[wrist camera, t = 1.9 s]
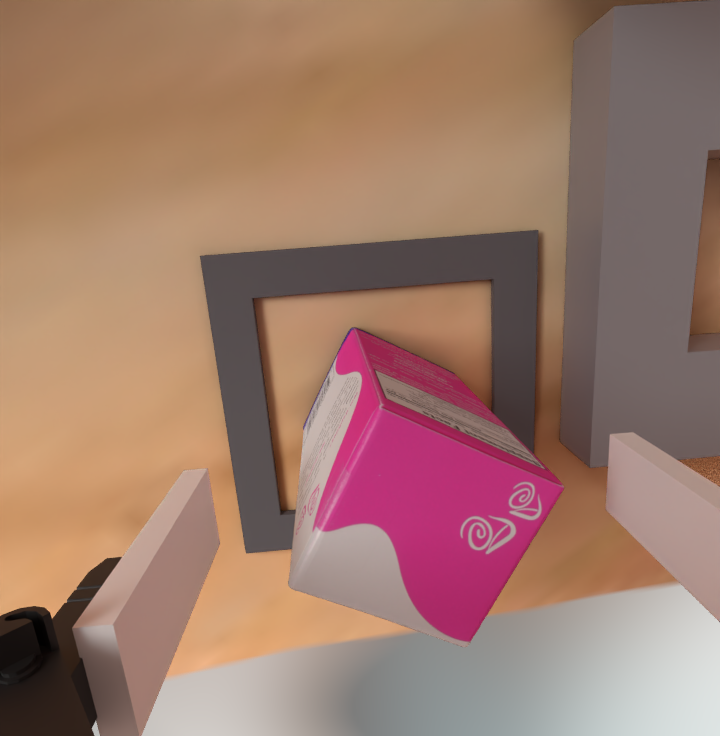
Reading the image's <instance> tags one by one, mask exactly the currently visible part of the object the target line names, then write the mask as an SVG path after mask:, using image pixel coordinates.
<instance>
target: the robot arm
mask: <svg viewBox="0 0 720 736" xmlns="http://www.w3.org/2000/svg"><path fill="white" fill-rule="evenodd" d="M606 510H607V511H608V512H609V513H610V514H611V515H612V516H613V517H614V518H615V519H616V520H617V521H618V522H619V523H620V524H621V525H622V526H623V527H624V528H625V529H626V530H627V531H628V532H629V533H630V534H631V535H632V536H633V537H634V538H635V539H636V540H637V541H638V542H639V543H640V544H641V545H642V546H643V547H644V548H645V549H646V550H647V551H648V552H649V553H650V554H651V555H652V556H653V557H654V558H655V559H656V560H657V561H658V562H659V563H660V564H661V565H662V566H663V567H664V568H665V569H666V570H667V571H668V572H669V573H670V574H671V575H672V576H673V577H674V578H675V579H677V580H678V581H679V582H680V583H681V584H682V585H683V586H684V587H685V588H686V589H687V590H688V591H689V592H690V593H691V594H692V595H693V596H694V597H695V598H696V599H697V600H698V601H699V602H700V603H701V604H702V605H703V606H704V607H705V608H706V609H707V610H708V611H709V612H710V613H711V614H712V615H713V616H714V617H715V618H716V619H717V620H718V621H719V622H720V487H719V486H718V485H716V484H715V483H713V482H711V481H710V480H708V479H707V478H705V477H703V476H702V475H700V474H699V473H697V472H695V471H694V470H692V469H691V468H689V467H687V466H686V465H684V464H683V463H681V462H680V461H678V460H676V459H675V458H673V457H672V456H670V455H668V454H667V453H665V452H664V451H662V450H660V449H659V448H657V447H656V446H654V445H653V444H651V443H649V442H648V441H646V440H645V439H643V438H641V437H640V436H638V435H637V434H635V433H633V432H629V433H617V434H610V441H609V459H608V477H607V494H606ZM219 545H220V540H219V534H218V528H217V522H216V516H215V510H214V504H213V498H212V492H211V486H210V480H209V474H208V468H205V469H193V470H184V471H183V472H182V473H181V475H180V476H179V478H178V479H177V481H176V482H175V483H174V485H173V486H172V488H171V489H170V490H169V492H168V493H167V495H166V496H165V497H164V499H163V500H162V502H161V503H160V505H159V506H158V507H157V509H156V510H155V512H154V513H153V514H152V516H151V517H150V519H149V520H148V521H147V523H146V524H145V526H144V527H143V529H142V530H141V531H140V533H139V534H138V536H137V537H136V538H135V540H134V541H133V543H132V544H131V545H130V547H129V548H128V550H127V551H126V553H125V554H124V555H123V557H117V558H107V559H106V560H104V561H103V562H102V563H100V564H99V565H98V566H96V567H95V568H94V569H92V570H91V571H90V572H89V573H88V574H87V575H86V576H85V578H84V579H83V580H82V581H81V583H80V584H79V585H78V587H77V590H74V592H73V593H72V594H71V596H70V597H69V598H68V599H67V603H64V605H63V606H62V607H61V608H60V610H59V611H58V612H57V614H56V615H55V616H54V617H53V619H52V618H51V615H50V612H49V611H48V610H46V609H45V608H43V607H36V606H32V607H26V608H20V609H17V610H14V611H11V612H9V613H6V614H3V615H1V616H0V736H94V733H93V731H92V726H93V725H94V723H95V721H97V725H98V729H99V733H100V736H141V735H142V733H143V730H144V728H145V725H146V723H147V721H148V718H149V716H150V713H151V711H152V708H153V706H154V703H155V701H156V699H157V696H158V694H159V691H160V689H161V686H162V684H163V682H164V679H165V677H166V674H167V672H168V669H169V667H170V664H171V662H172V660H173V657H174V655H175V652H176V650H177V647H178V645H179V642H180V640H181V638H182V635H183V633H184V630H185V628H186V625H187V623H188V620H189V618H190V616H191V613H192V611H193V608H194V606H195V603H196V601H197V599H198V596H199V594H200V591H201V589H202V586H203V584H204V581H205V579H206V577H207V574H208V572H209V569H210V567H211V564H212V562H213V559H214V557H215V555H216V552H217V550H218V547H219Z"/></svg>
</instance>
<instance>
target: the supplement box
mask: <svg viewBox="0 0 720 736" xmlns="http://www.w3.org/2000/svg"><path fill="white" fill-rule="evenodd" d="M303 430H304V433H303V446H302V456H301V466H300V475H299V485H298V495H297V504H296V513H295V525H294V536H293V544H292V554H291V564H290V574H289V581H288V585H289V587H290V588H291V589H293V590H295V591H299V592H303V593H306V594H309V595H312V596H315V597H318V598H322V599H325V600H328V601H331V602H334V603H337V604H340V605H343V606H347V607H350V608H353V609H356V610H359V611H362V612H365V613H368V614H371V615H374V616H377V617H380V618H383V619H386V620H389V621H391V622H394V623H397V624H399V625H402V626H405V627H408V628H411V629H414V630H416V631H419V632H422V633H425V634H428V635H431V636H434V637H436V638H439V639H442V640H444V641H447V642H451V643H453V644H456V645H459V646H462V647H467V646H468V645H469V643H470V642H471V640H472V638H473V636H474V635H475V633H476V632H477V630H478V629H479V627H480V625H481V623H482V621H483V620H484V619H485V617H486V616H487V614H488V612H489V611H490V609H491V607H492V606H493V604H494V602H495V601H496V599H497V597H498V596H499V594H500V593H501V591H502V589H503V588H504V586H505V584H506V583H507V581H508V579H509V578H510V576H511V575H512V573H513V571H514V570H515V568H516V566H517V565H518V563H519V561H520V560H521V558H522V556H523V555H524V553H525V552H526V550H527V549H528V547H529V545H530V543H531V542H532V540H533V538H534V537H535V535H536V534H537V532H538V530H539V529H540V527H541V526H542V524H543V522H544V521H545V519H546V518H547V516H548V514H549V513H550V511H551V509H552V508H553V506H554V504H555V503H556V501H557V500H558V498H559V496H560V495H561V493H562V491H563V489H564V486H563V484H562V483H561V482H560V481H559V480H558V479H557V478H556V477H555V475H554V474H553V473H552V472H551V471H550V470H549V469H548V468H547V467H546V466H545V465H544V464H543V463H542V462H541V461H540V460H539V459H538V458H537V457H536V456H535V455H534V454H533V453H532V452H531V451H530V450H529V449H528V448H527V447H526V446H525V445H524V444H523V443H522V442H521V441H520V440H519V439H518V438H517V437H516V436H515V435H514V434H513V433H512V432H511V431H510V430H509V429H508V428H507V427H506V426H505V425H504V424H503V423H502V421H500V420H499V419H498V418H497V417H496V416H495V415H494V414H493V413H492V412H491V411H490V410H489V409H488V408H487V407H486V406H485V405H484V403H483V402H482V401H481V400H480V399H479V398H478V397H477V396H476V395H475V394H474V393H473V392H472V391H471V390H470V389H469V388H468V387H467V386H466V385H465V384H464V383H463V382H462V381H461V380H460V379H459V378H458V377H457V376H456V375H455V374H454V373H453V372H450V371H448V370H446V369H444V368H442V367H440V366H438V365H436V364H434V363H431V362H429V361H427V360H425V359H423V358H421V357H419V356H416V355H414V354H412V353H410V352H408V351H406V350H404V349H402V348H400V347H397V346H395V345H393V344H391V343H389V342H387V341H384V340H382V339H380V338H378V337H376V336H373V335H371V334H369V333H367V332H365V331H362V330H360V329H358V328H351V329H350V331H349V332H348V334H347V335H346V337H345V339H344V341H343V343H342V345H341V347H340V349H339V351H338V353H337V355H336V357H335V359H334V362H333V364H332V366H331V368H330V370H329V372H328V374H327V376H326V378H325V380H324V383H323V385H322V387H321V389H320V391H319V393H318V395H317V397H316V400H315V402H314V404H313V406H312V408H311V411H310V413H309V415H308V418H307V420H306V422H305V424H304V426H303Z"/></svg>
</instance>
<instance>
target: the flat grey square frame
mask: <svg viewBox="0 0 720 736" xmlns="http://www.w3.org/2000/svg"><path fill="white" fill-rule="evenodd" d="M200 259H201V265H202V272H203V278H204V285H205V291H206V298H207V304H208V311H209V317H210V324H211V330H212V337H213V343H214V349H215V356H216V362H217V369H218V375H219V382H220V388H221V395H222V401H223V408H224V414H225V421H226V427H227V434H228V440H229V447H230V453H231V460H232V466H233V472H234V479H235V485H236V492H237V498H238V505H239V511H240V518H241V524H242V531H243V537H244V544H245V550H246V553H255V552H266V551H276V550H287V549H292V544H293V536H294V525H295V513H296V510H288V511H281V506H280V498H279V491H278V483H277V475H276V468H275V460H274V452H273V444H272V437H271V429H270V421H269V414H268V406H267V398H266V390H265V383H264V375H263V367H262V360H261V352H260V344H259V336H258V329H257V321H256V313H255V306H254V298H260V297H273V296H286V295H298V294H311V293H323V292H336V291H349V290H361V289H374V288H387V287H399V286H412V285H425V284H437V283H450V282H462V281H475V280H488V279H491V308H492V413H493V414H494V415H495V416H496V417H497V418H498V419H499V420H500V421H502V423H503V424H504V425H505V426H506V427H507V428H508V429H509V430H510V431H511V432H512V433H513V434H514V435H515V436H516V437H517V438H518V439H519V440H520V441H521V442H522V443H523V444H524V445H525V446H526V447H527V448H528V449H529V450H530V451H531V452H532V453H533V454H534V417H535V369H536V320H537V271H538V230H533V231H520V232H507V233H494V234H480V235H467V236H454V237H441V238H428V239H415V240H402V241H389V242H376V243H362V244H349V245H336V246H323V247H310V248H297V249H284V250H271V251H258V252H244V253H231V254H218V255H205V256H200Z"/></svg>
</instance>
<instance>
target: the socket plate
mask: <svg viewBox="0 0 720 736" xmlns="http://www.w3.org/2000/svg"><path fill="white" fill-rule="evenodd" d="M716 158H720V0H705V1H689V2H673V3H657V4H641V5H624V6H614V7H613V8H612V9H610V10H609V11H608V12H607V13H606V14H604V15H603V16H602V17H601V18H600V19H598V20H597V21H596V22H595V23H594V24H593V25H591V26H590V27H589V28H588V29H587V30H585V31H584V32H583V33H582V34H581V35H580V36H578V37H577V38H576V39H575V40H574V49H573V77H572V105H571V134H570V162H569V191H568V219H567V248H566V276H565V305H564V333H563V362H562V390H561V418H560V442H561V443H562V444H563V445H564V446H566V447H567V448H568V449H569V450H570V451H571V452H572V453H573V454H575V455H576V456H577V457H578V458H579V459H580V460H581V461H582V462H584V463H585V464H586V465H587V466H588V467H589V468H594V467H605V466H608V459H609V441H610V434H617V433H629V432H633V433H635V434H637V435H638V436H640V437H641V438H643V439H645V440H646V441H648V442H649V443H651V444H653V445H654V446H656V447H657V448H659V449H660V450H662V451H664V452H665V453H667V454H668V455H670V456H672V457H673V458H675V459H676V460H682V459H693V458H703V457H714V456H720V333H710V334H698V335H689V333H690V323H691V314H692V304H693V294H694V285H695V275H696V265H697V255H698V246H699V236H700V226H701V217H702V207H703V197H704V188H705V178H706V168H707V159H716Z"/></svg>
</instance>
